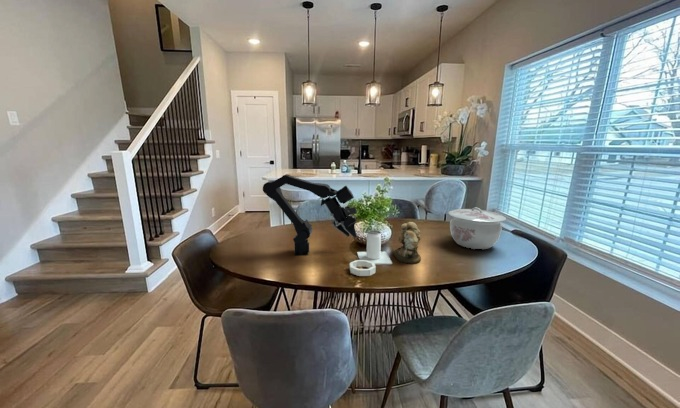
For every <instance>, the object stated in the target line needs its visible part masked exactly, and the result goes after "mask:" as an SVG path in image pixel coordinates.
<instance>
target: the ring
mask: <svg viewBox="0 0 680 408" xmlns="http://www.w3.org/2000/svg"><path fill="white" fill-rule="evenodd" d="M358 267H359V268H358ZM360 267H362V268H360ZM363 267H364V268H363ZM376 268H377V266H376V265H375V264H374V263H373V262H370V261H367V260H359V259H357V260H356V259H355V260H354V261H351V262H349V272H350V274H352V275H356V276H357V277H358V276H359V277H369V276H370V277H371V276H372V275H374V274H376V271H377V269H376Z"/></svg>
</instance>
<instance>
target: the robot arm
mask: <svg viewBox="0 0 680 408" xmlns="http://www.w3.org/2000/svg"><path fill="white" fill-rule="evenodd" d="M284 185H289V186H292V187H295V188H299V189H300V190H301V189H302V190H304V191H305V190H306V191H309V192H310V193H312V194H314V195H315V196H317V197H320V198H321V202H320V206H322V207H323V206H324V205H325V206H326V208H327V210H328V211H329V214H330V216H332V218H333V220H332V221H331V225H332V227H333V228H335V229H337V230H338V231H339V232H340V233H343V235H345V236H346V237H350V236H352V237H353V238H354V239H355V238H357V232H356V229H355V225H356V223H357V222H356V221H357V218H356V217H355V216H353V215H356V214H357V213H358V212H357V207H356V206H353V207H350V205H347V206H341V204H343V205H344V204H346V203H348V202H349V201H351V200H353V199H355V197H354V194H353V192H352V191H351V190H350V188H349V187H348V185H345V186H343V187H342V188H340V189H337V190H336V189H334V188H332V187H331V186H330V184H326V183H319V182H311V181H308V180H306V179H303V178H299V177H295V176H292V175H290V174H283V175H281V177H279V178H277V179H276V180H270V181H267V182H264V184H263V186H262V191H263V193H264V194H265V195H266V196H267V197H268V198H270V200H273V201H274V202H275V203H276V204H277V206H278V207H279V208H280V209H281V211H282V212H283V213H284V214H285V216H286V217H287V218H288V220H289V222H291V223H292V224H293V226H294V230H295V232H296V234H295V236H294V238H293V239H292V240H293V242H294V253H293V255H295V256H298V255H299V256H302V255H303V256H304V255H305V256H307V255H308V254H309V253H310V242H309V238H310V236H311V235H312V233H313V228H312V224H311V223H310V222H309V220H308V219H305V220H304V219H302V218H301V217H300V215H299V214H298V213H297V212H296V210H295V209H294V208H293V206H292V205H291V204H290V202H289V201H288V200H287V199H286V197H285V196H284V194H283V192H282V189H281V187H283V186H284Z"/></svg>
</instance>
